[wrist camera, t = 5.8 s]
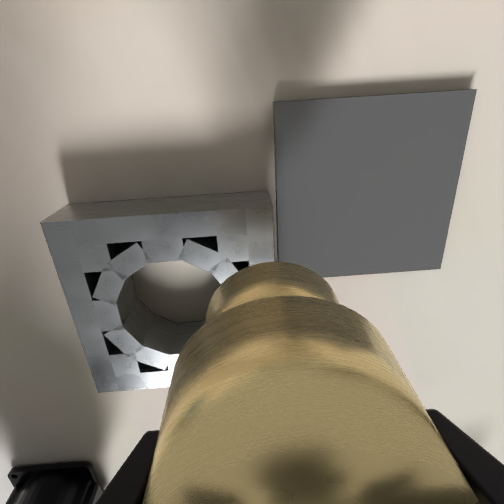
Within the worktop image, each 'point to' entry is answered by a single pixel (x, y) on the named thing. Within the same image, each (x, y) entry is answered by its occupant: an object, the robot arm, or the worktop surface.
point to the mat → (368, 180)
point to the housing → (137, 256)
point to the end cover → (295, 406)
